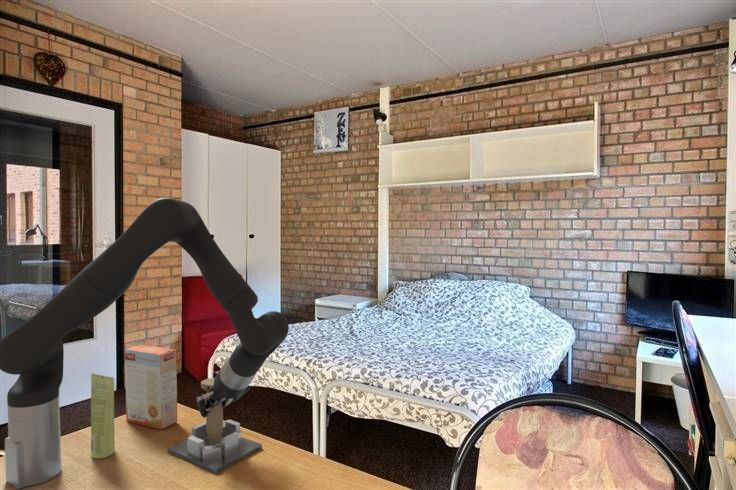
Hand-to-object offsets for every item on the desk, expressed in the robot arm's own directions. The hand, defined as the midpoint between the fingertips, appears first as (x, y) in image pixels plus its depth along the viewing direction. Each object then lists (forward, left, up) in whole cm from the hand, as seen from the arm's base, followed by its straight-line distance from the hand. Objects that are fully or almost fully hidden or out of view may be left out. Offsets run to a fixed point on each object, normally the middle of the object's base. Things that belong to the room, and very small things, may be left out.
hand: (210, 411), depth 114 cm
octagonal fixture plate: (0, -2, -9) cm, 9 cm away
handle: (0, -2, -7) cm, 7 cm away
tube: (-16, +19, -9) cm, 27 cm away
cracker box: (+1, +26, -9) cm, 28 cm away
